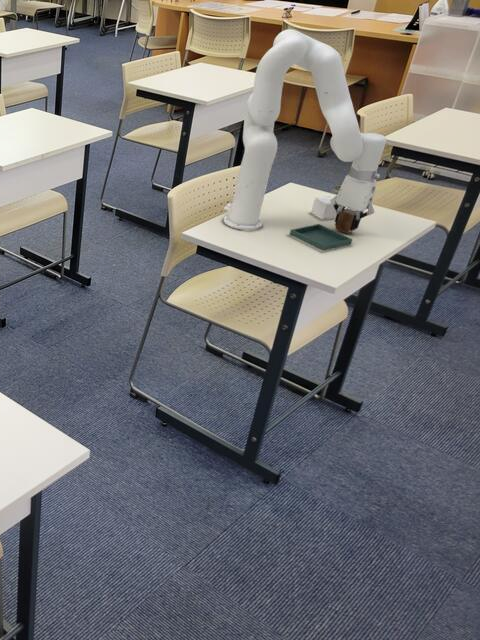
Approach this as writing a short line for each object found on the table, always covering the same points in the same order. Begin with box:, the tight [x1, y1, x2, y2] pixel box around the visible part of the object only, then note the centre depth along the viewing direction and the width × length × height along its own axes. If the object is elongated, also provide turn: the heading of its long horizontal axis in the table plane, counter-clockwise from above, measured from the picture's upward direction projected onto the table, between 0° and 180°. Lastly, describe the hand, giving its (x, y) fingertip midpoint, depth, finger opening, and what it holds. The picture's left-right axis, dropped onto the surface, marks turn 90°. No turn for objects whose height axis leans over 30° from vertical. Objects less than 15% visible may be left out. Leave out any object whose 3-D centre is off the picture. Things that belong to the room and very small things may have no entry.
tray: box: [289, 223, 353, 252], centre depth 227 cm, size 14×13×2 cm
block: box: [334, 207, 356, 234], centre depth 231 cm, size 5×5×6 cm
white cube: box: [310, 195, 337, 220], centre depth 245 cm, size 6×6×6 cm
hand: (345, 226), depth 232 cm, fingers closed on block, 4 cm apart
